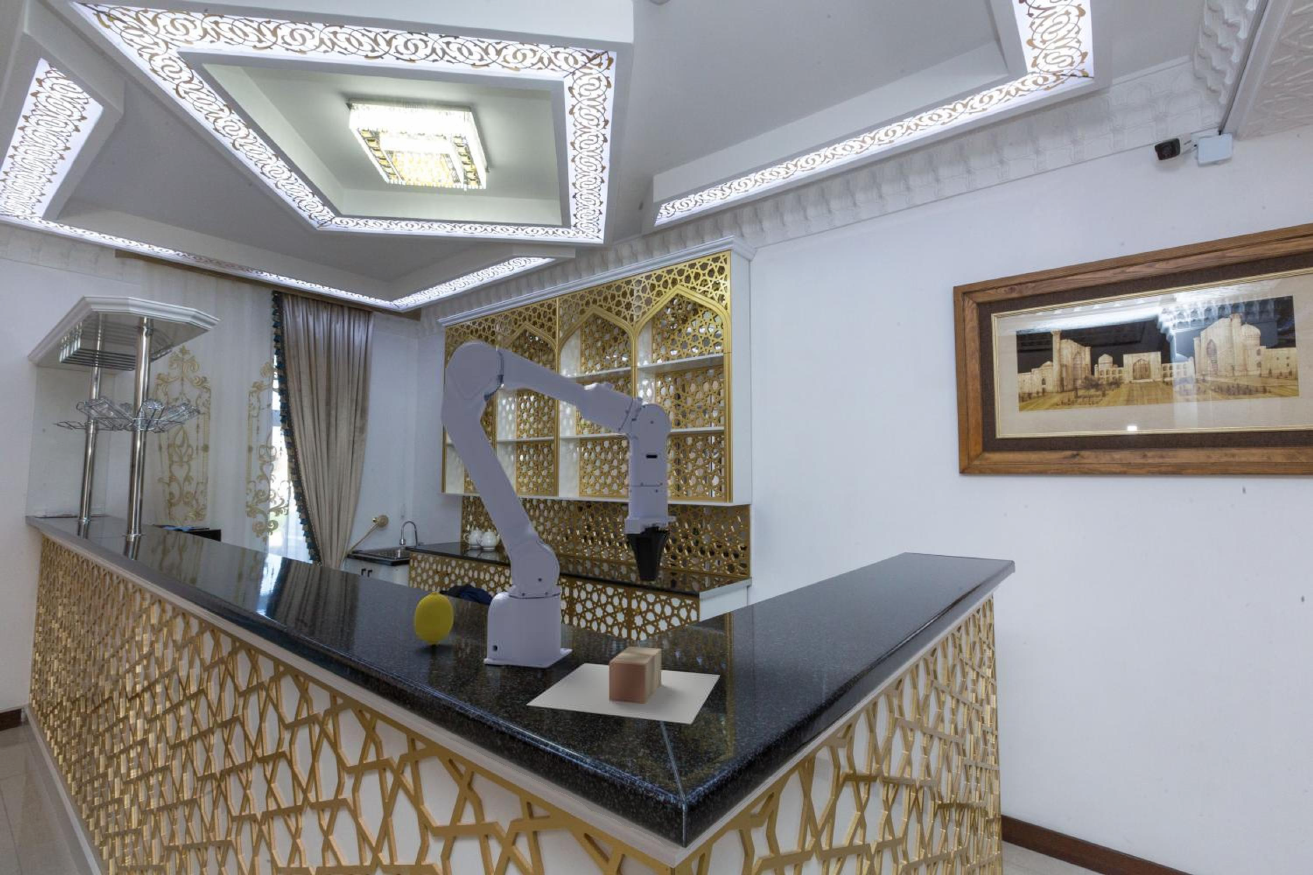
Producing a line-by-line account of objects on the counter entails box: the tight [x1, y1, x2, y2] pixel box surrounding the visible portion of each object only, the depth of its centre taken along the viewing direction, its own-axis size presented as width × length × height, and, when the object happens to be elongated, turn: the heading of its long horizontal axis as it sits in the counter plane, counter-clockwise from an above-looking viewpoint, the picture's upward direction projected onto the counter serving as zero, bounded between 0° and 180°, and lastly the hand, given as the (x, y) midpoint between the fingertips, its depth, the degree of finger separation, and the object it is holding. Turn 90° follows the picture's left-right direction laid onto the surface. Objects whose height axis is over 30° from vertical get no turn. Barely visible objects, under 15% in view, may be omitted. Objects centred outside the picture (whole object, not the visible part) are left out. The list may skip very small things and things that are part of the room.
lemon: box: [413, 591, 454, 645], centre depth 86 cm, size 6×6×8 cm
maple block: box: [608, 646, 662, 704], centre depth 64 cm, size 4×4×6 cm
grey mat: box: [526, 662, 721, 725], centre depth 65 cm, size 18×15×1 cm
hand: (648, 580), depth 83 cm, fingers closed
